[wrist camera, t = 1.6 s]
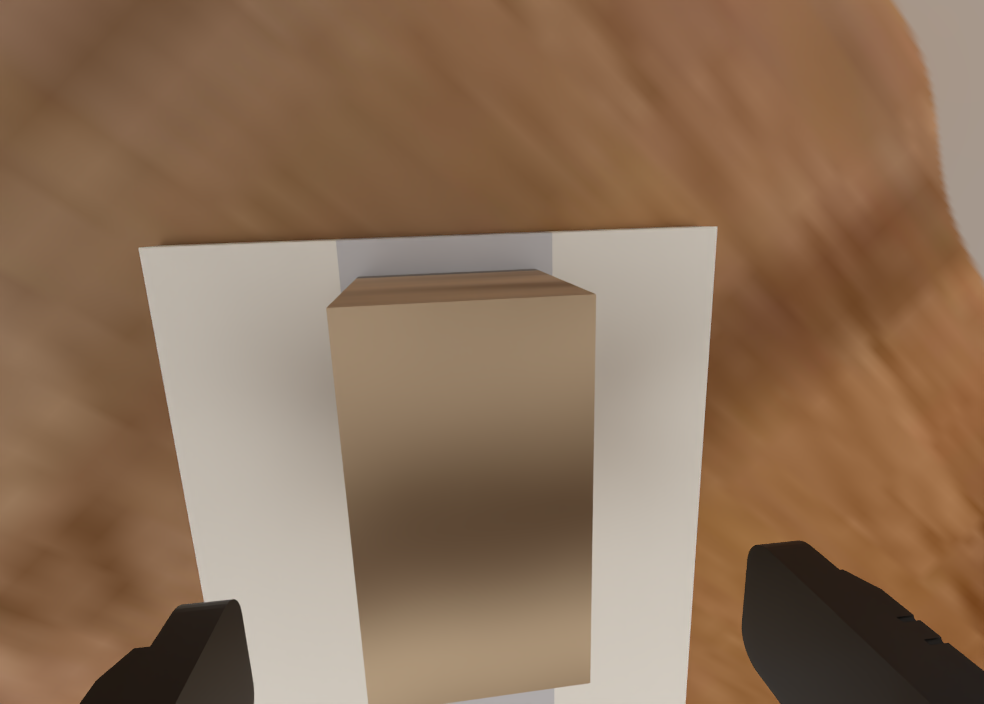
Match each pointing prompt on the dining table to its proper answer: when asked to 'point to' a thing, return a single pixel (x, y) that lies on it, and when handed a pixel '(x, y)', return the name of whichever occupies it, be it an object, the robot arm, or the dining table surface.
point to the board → (318, 459)
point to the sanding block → (468, 479)
